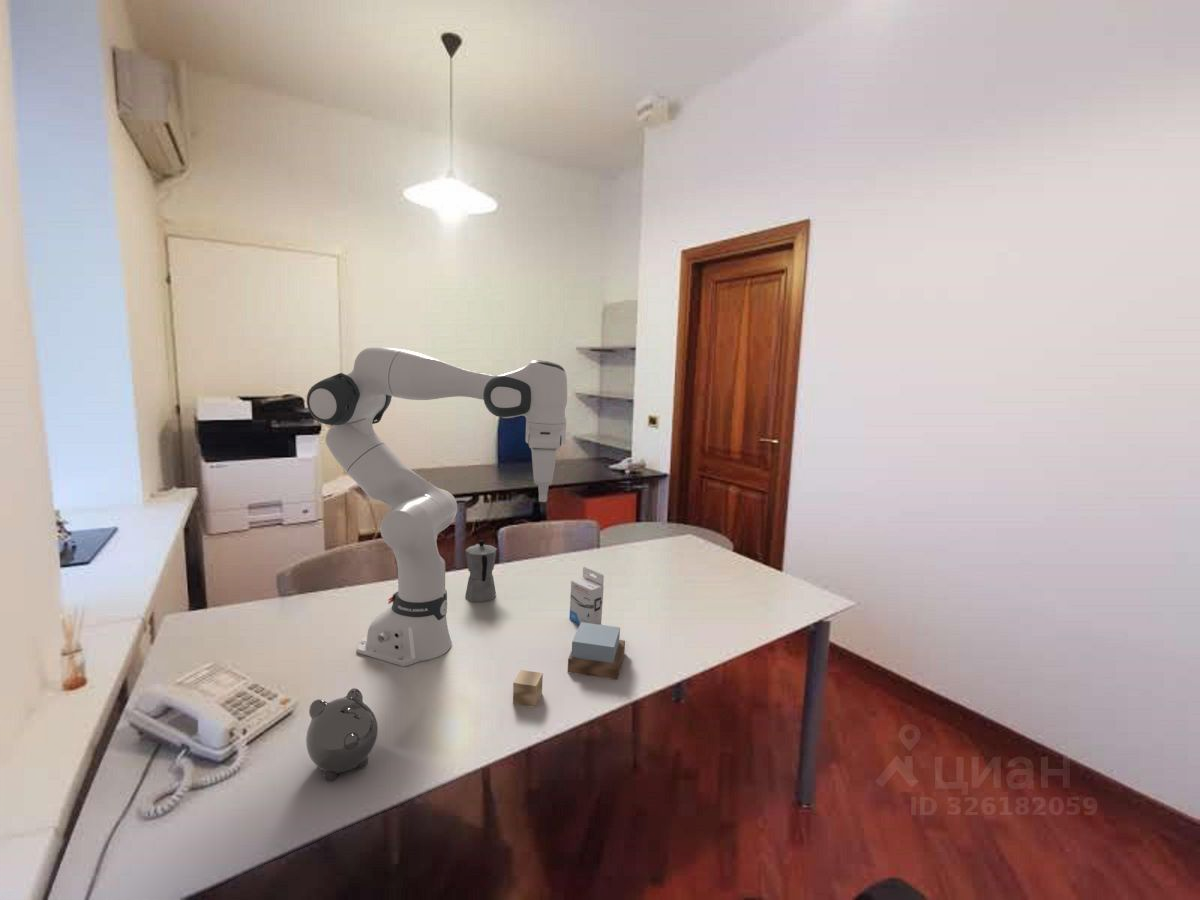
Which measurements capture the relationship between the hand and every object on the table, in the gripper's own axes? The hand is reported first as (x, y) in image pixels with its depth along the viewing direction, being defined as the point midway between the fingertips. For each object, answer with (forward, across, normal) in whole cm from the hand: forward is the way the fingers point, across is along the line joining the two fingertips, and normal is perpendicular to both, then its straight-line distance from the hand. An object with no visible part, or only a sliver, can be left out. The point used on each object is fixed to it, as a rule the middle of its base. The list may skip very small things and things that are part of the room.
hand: (543, 495), depth 122 cm
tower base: (+43, -4, +14) cm, 45 cm away
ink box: (+43, -25, +12) cm, 51 cm away
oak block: (+42, +11, -2) cm, 44 cm away
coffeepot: (+43, -40, -19) cm, 61 cm away
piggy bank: (+43, +30, -33) cm, 62 cm away
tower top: (+39, -3, +14) cm, 41 cm away
